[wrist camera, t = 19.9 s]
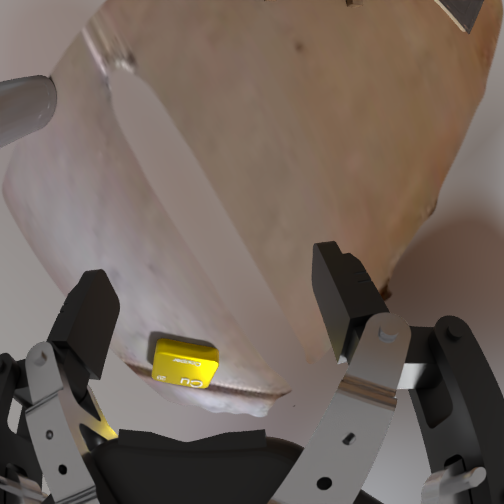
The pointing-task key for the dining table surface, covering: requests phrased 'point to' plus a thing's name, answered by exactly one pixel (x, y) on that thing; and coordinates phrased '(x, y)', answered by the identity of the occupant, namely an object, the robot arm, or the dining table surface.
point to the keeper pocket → (352, 1)
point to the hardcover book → (462, 12)
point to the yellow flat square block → (184, 363)
